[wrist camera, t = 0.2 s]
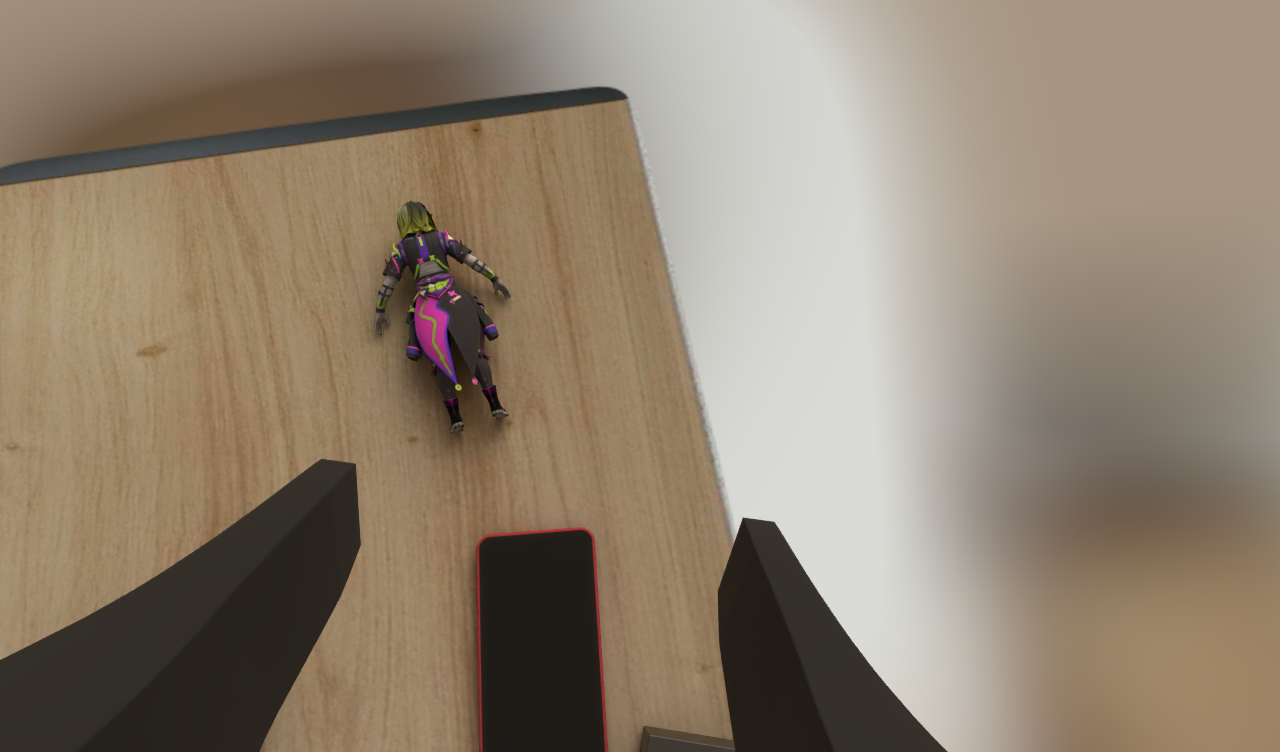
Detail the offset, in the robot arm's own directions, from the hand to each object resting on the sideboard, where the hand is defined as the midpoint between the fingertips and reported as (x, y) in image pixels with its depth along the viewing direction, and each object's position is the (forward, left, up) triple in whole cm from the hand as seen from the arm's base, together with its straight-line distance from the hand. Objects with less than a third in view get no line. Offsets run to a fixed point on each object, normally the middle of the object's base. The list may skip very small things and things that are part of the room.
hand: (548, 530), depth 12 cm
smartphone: (-6, -1, -31) cm, 32 cm away
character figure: (+14, +10, -32) cm, 36 cm away
